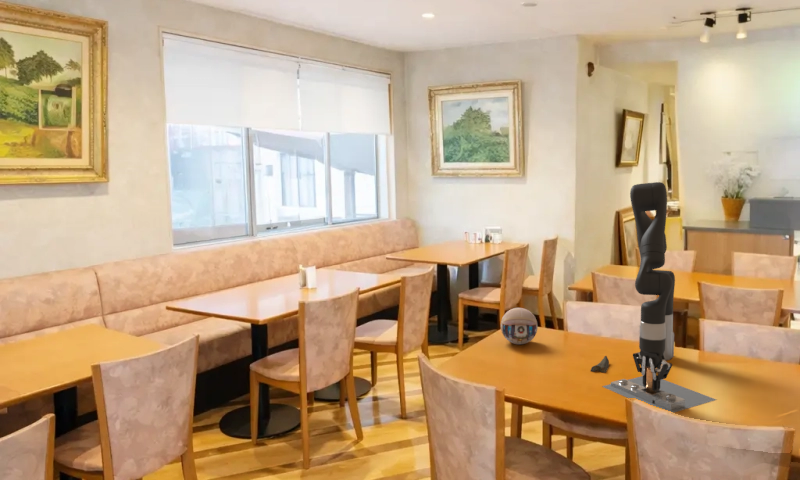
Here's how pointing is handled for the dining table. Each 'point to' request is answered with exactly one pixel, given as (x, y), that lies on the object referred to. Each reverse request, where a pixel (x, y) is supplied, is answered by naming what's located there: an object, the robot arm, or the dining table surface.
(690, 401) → the grey flat rectangular plate
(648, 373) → the pin
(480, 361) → the dining table surface
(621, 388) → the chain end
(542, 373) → the dining table surface
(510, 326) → the ornament
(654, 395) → the chain end
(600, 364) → the dark grey rock
